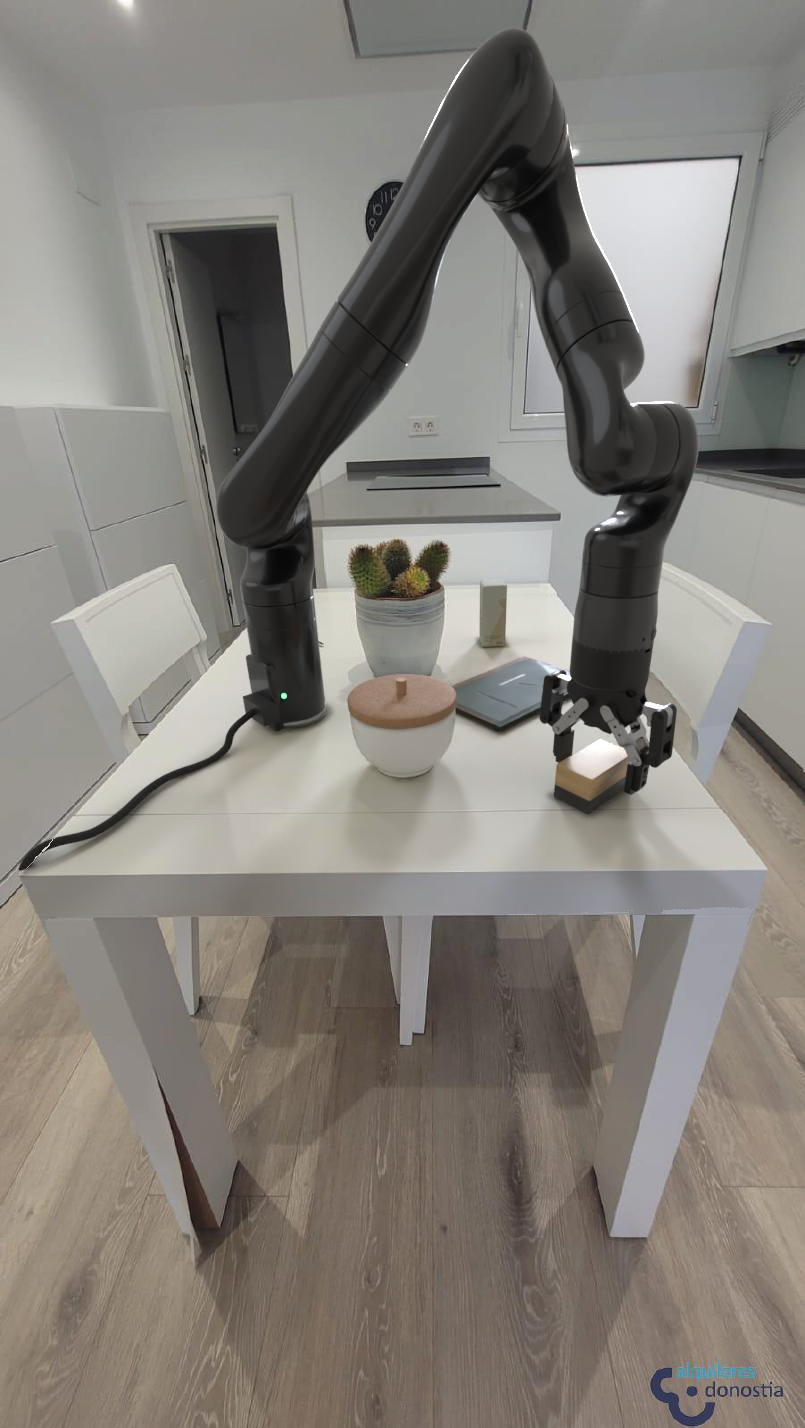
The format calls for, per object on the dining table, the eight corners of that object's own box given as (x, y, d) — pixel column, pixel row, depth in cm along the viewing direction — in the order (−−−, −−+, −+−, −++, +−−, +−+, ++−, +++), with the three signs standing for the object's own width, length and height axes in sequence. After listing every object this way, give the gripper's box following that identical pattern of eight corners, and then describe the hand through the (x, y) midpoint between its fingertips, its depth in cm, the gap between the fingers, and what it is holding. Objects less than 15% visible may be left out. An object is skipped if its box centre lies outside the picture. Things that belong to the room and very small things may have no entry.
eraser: (588, 814, 62) (592, 780, 60) (553, 796, 65) (556, 763, 63) (629, 784, 66) (635, 752, 64) (595, 769, 69) (599, 738, 67)
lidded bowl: (341, 749, 76) (333, 669, 71) (431, 729, 80) (430, 652, 75) (371, 801, 65) (364, 712, 60) (474, 776, 69) (476, 689, 64)
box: (505, 646, 107) (507, 585, 102) (481, 647, 107) (482, 586, 102) (501, 637, 111) (503, 578, 106) (478, 637, 112) (479, 579, 107)
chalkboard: (500, 732, 78) (500, 726, 78) (428, 700, 88) (428, 695, 88) (596, 684, 91) (596, 679, 90) (524, 660, 100) (524, 656, 100)
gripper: (529, 628, 60) (522, 764, 68) (663, 663, 51) (638, 818, 58) (573, 611, 65) (562, 741, 72) (704, 641, 55) (676, 787, 62)
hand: (596, 775), depth 65 cm, fingers open, 8 cm apart
